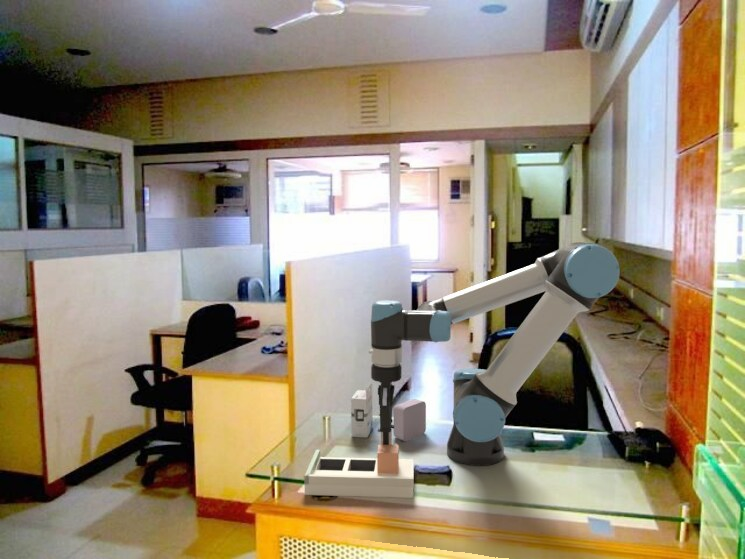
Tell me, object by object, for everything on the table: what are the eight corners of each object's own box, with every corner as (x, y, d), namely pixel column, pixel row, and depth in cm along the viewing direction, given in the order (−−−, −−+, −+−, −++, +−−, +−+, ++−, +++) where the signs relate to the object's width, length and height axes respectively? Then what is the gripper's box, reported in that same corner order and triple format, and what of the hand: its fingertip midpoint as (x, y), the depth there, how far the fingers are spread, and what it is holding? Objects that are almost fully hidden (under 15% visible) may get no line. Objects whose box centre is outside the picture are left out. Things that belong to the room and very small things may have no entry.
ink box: (357, 426, 168) (357, 379, 166) (373, 427, 167) (372, 380, 165) (350, 437, 159) (350, 388, 158) (367, 438, 158) (366, 388, 157)
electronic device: (413, 429, 165) (413, 397, 164) (425, 433, 162) (425, 400, 161) (391, 438, 158) (391, 405, 157) (403, 442, 155) (403, 408, 154)
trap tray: (413, 468, 138) (413, 451, 138) (413, 497, 123) (413, 478, 123) (316, 466, 140) (316, 449, 140) (304, 494, 125) (304, 476, 125)
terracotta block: (398, 464, 135) (398, 444, 134) (398, 473, 130) (398, 453, 129) (378, 463, 135) (378, 444, 135) (377, 473, 130) (377, 453, 130)
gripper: (373, 356, 141) (373, 444, 143) (368, 370, 128) (368, 465, 131) (402, 357, 140) (402, 445, 143) (400, 370, 127) (399, 467, 130)
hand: (386, 455), depth 137 cm, fingers closed
